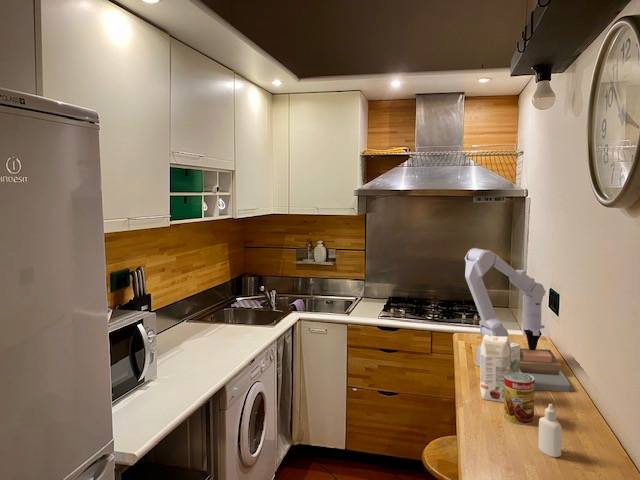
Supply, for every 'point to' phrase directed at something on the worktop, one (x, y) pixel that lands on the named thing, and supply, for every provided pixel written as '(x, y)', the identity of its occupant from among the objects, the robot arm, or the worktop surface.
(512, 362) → the syrup box
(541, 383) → the tray
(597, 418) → the worktop surface
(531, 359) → the tile
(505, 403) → the canned food
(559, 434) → the eye dropper bottle
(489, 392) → the juice carton
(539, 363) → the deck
